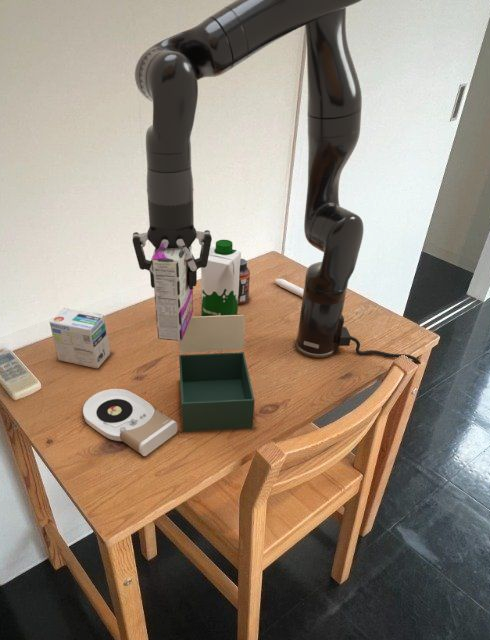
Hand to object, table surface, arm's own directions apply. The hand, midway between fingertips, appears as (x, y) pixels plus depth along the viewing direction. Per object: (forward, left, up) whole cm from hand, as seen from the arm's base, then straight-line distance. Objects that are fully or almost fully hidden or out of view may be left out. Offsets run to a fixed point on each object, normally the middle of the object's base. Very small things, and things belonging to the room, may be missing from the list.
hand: (174, 287), depth 95 cm
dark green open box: (-7, +5, -25) cm, 26 cm away
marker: (-35, -40, -25) cm, 58 cm away
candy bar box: (0, 0, -8) cm, 8 cm away
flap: (-7, -3, -13) cm, 15 cm away
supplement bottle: (-17, -38, -25) cm, 49 cm away
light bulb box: (+22, -14, -25) cm, 36 cm away
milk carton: (-11, -28, -25) cm, 39 cm away
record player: (+11, +9, -25) cm, 29 cm away
